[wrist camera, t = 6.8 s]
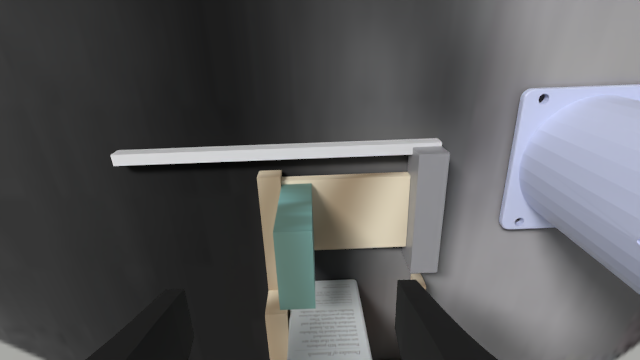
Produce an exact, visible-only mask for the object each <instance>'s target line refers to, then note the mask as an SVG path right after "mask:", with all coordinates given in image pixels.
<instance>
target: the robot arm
mask: <svg viewBox="0 0 640 360" xmlns="http://www.w3.org/2000/svg"><path fill="white" fill-rule="evenodd" d="M542 94H544V100H543V101H542V102H540V103H539V97H540V96H541V95H542ZM518 218H520V220H519V221H518V222H516V223H515V220H516V219H518ZM499 223H500V225H501V226H502V227H503V228H505V229H532V228H557V229H558V230H560V231H561V232H562V233H563V234H564V235H566V236H567V237H568V238H569V239H571V240H572V241H573V242H574V243H576V244H577V245H578V246H579V247H581V248H582V249H583V250H584V251H586V252H587V253H588V254H589V255H591V256H592V257H593V258H594V259H596V260H597V261H598V262H599V263H601V264H602V265H603V266H604V267H606V268H607V269H608V270H609V271H611V272H612V273H613V274H614V275H616V276H617V277H618V278H619V279H621V280H622V281H623V282H624V283H626V284H627V285H628V286H629V287H631V288H632V289H633V290H634V291H636V292H637V293H638V294H639V295H640V84H633V85H605V86H578V87H551V88H531V89H527V90H526V91H524V93H523V94H522V96H521V98H520V104H519V109H518V115H517V121H516V126H515V132H514V138H513V143H512V149H511V155H510V161H509V166H508V172H507V178H506V183H505V189H504V195H503V200H502V206H501V212H500V217H499ZM395 330H396V335H397V340H398V345H399V349H400V354H401V358H402V360H498V359H496V358H495V357H494V356H492V355H491V354H490V353H489V352H488V351H486V350H485V349H484V348H483V347H482V346H481V345H479V344H478V343H477V342H476V341H475V340H474V339H473V338H472V337H471V336H470V335H468V334H467V333H466V332H465V331H464V330H463V329H462V328H461V327H460V326H459V325H458V324H457V323H456V322H455V321H454V320H453V319H452V318H451V317H450V316H449V315H448V314H447V313H446V312H445V311H444V310H443V309H442V308H441V307H440V305H439V304H438V303H437V302H436V301H435V300H434V299H433V298H432V297H431V296H430V294H429V293H428V292H427V291H426V290H425V289H424V288H423V287H422V285H421V284H420V283H419V282H418V281H417V280H398V284H397V301H396V318H395ZM193 338H194V332H193V328H192V323H191V318H190V314H189V309H188V304H187V300H186V295H185V291H184V289H170V290H165V291H164V292H163V293H162V294H160V295H159V296H158V297H157V298H156V299H155V300H154V301H153V302H152V303H151V304H149V305H148V306H147V307H146V308H145V309H144V310H143V311H142V312H141V313H140V314H139V315H137V316H136V317H135V318H134V319H133V320H132V321H131V322H130V323H129V324H127V325H126V326H125V327H124V328H123V329H122V330H121V331H120V332H118V333H117V334H116V335H115V336H114V337H113V338H111V339H110V340H109V341H108V342H107V343H105V344H104V345H103V346H102V347H101V348H99V349H98V350H97V351H96V352H94V353H93V354H92V355H91V356H90V357H88V358H87V359H86V360H188V358H189V354H190V351H191V347H192V343H193Z"/></svg>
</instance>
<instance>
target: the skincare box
mask: <svg viewBox="0 0 640 360" xmlns="http://www.w3.org/2000/svg"><path fill="white" fill-rule="evenodd" d="M315 302H316V309H294V310H290V318H289V335H288V353H287V360H372V355H371V350H370V345H369V340H368V335H367V330H366V325H365V320H364V315H363V310H362V305H361V300H360V295H359V291H358V285H357V281H356V280H354V279H346V280H323V281H315Z"/></svg>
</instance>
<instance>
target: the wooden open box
mask: <svg viewBox="0 0 640 360" xmlns="http://www.w3.org/2000/svg"><path fill="white" fill-rule="evenodd" d="M410 178H411V176H410V174H409V173H408V172H393V173H367V174H342V175H316V176H291V177H282V170H269V171H259V173H258V176H257V183H258V193H259V202H260V212H261V221H262V231H263V240H264V250H265V259H266V269H267V278H268V288H269V292H268V299H267V305H266V311H265V320H266V328H267V337H268V346H269V355H270V360H287V353H288V335H289V318H290V310H294V309H316V302H315V255H314V250H332V249H356V248H380V247H404V246H406V237H407V222H408V207H409V192H410ZM410 280H417V281H418V282H419V283H420V284H421V285H422V287H423V288H424V289H425V290H426V284H425V282H424V280H423V278H422V276H421V273H418V274H411V279H410Z"/></svg>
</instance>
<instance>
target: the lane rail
mask: <svg viewBox="0 0 640 360" xmlns="http://www.w3.org/2000/svg"><path fill="white" fill-rule="evenodd" d="M388 155H408V167H407V172H408V173H409V174H410V176H411V178H410V192H409V207H408V222H407V237H406V246H404V247H402V254H403V257H404V259H405V262H406V264H407V266H408V269H409V271H410V273H433V272H437V268H438V259H439V250H440V241H441V232H442V223H443V213H444V204H445V195H446V186H447V177H448V168H449V159H450V153H449V152H448V151H447V150H446V149H445V148H443V147H442V142H441V141H440V140H439V139H438V138H427V139H401V140H375V141H349V142H322V143H296V144H270V145H243V146H217V147H191V148H165V149H138V150H118V151H116V152H114V153H113V154H111V159H112V163H113V166H129V165H155V164H181V163H206V162H232V161H258V160H284V159H310V158H336V157H362V156H388Z"/></svg>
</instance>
